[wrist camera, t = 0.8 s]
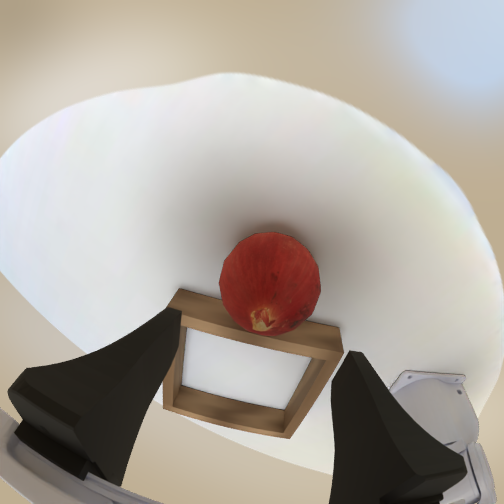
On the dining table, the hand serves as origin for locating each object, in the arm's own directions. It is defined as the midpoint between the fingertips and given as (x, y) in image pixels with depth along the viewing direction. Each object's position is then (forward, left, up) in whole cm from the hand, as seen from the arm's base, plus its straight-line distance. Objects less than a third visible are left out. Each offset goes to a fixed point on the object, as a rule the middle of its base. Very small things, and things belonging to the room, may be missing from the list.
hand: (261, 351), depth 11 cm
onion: (0, 0, -10) cm, 10 cm away
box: (0, +11, -9) cm, 14 cm away
